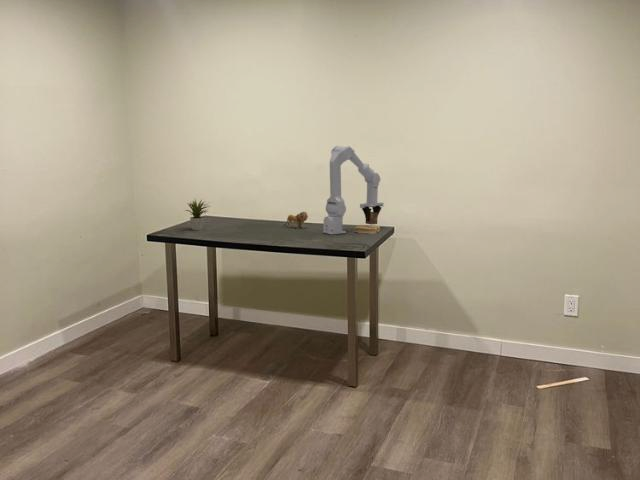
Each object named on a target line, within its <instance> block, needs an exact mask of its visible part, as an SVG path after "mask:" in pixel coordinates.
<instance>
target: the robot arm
mask: <svg viewBox="0 0 640 480" xmlns="http://www.w3.org/2000/svg"><path fill="white" fill-rule="evenodd" d="M330 152H331V153H330V154H331V155H330V159H329V192H330V193H329V195H330V196H329V197H328V198H327V199H326V205H325V211H326V213H327V216H325V217H324V218H323V224H322V225H323V231H322V233H324V234H328V235H340V234H346V233H347V231H343V229H344V228H343V227H344V225H343V224H344V223H343V222H344V221H343V219H344V216H345V213H346V211H347V207H346V204H345V200H344V198H343V197H342V174H341V173H342V171H341V169H342V165H343V164H344V163H345V162H346V161H348V160H349V161H350V162H351V163H352V164H353V165H354V166H356V167H357V171H358V173H359V174H360V175H362V177H364V181H365V182H366V202H365V203H360V204H359V208H360V209H361V210H362V212H363V214H364V217H365V222H366V221H369V220H370V212H376V213H378V217H379V214H380V212H381V211H382V207H384V206H385V205H384V202H378V197H379V196H378V195H379V194H378V192H379V191H378V190H379V188H378V187H379V186H380V185H379V184H380V182H381V176H380V175H379V173H377V172H375V170H374V169H372V168H371V167H370V164H369V163H366V162H363V161H362V160H361V159H360V157H359V156H358V155H357V154H356V153H355V149H353V148H352V146H350V145H347V146H344V145H343V146H341V145H335V146H334V147H333V148H332V149H331V151H330ZM378 217H377V219H378Z"/></svg>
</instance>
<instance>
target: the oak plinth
mask: <svg viewBox="0 0 640 480" xmlns="http://www.w3.org/2000/svg"><path fill="white" fill-rule="evenodd" d="M353 228H354V229H353V230H354V232H358V233H357V234H366V233H369V235H377V232H378V233H379V232H380V231H381V225H373V224H371V225H370V224H359V225H357V226H355V227H353Z"/></svg>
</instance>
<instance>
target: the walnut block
mask: <svg viewBox="0 0 640 480" xmlns="http://www.w3.org/2000/svg"><path fill="white" fill-rule="evenodd" d="M377 217H379V215H378V213H376V212H373V211H371V212H370V220H369V221H366V220H365V225H378V218H377Z"/></svg>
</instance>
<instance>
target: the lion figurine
mask: <svg viewBox="0 0 640 480" xmlns="http://www.w3.org/2000/svg"><path fill="white" fill-rule="evenodd" d="M308 218H309V215H308V213H307V211H302V212H300V213H297V214H296V215H293V214H289V215H288V217H287V219H286V222H285V224H283V226H288V228H289V227H290V228H291V225H290V224H292V222H293V223H294V224H297V229H298V230H301V229H302V228H303V227H302V224H303V223H305V222H306V221H307V220H308Z"/></svg>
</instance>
